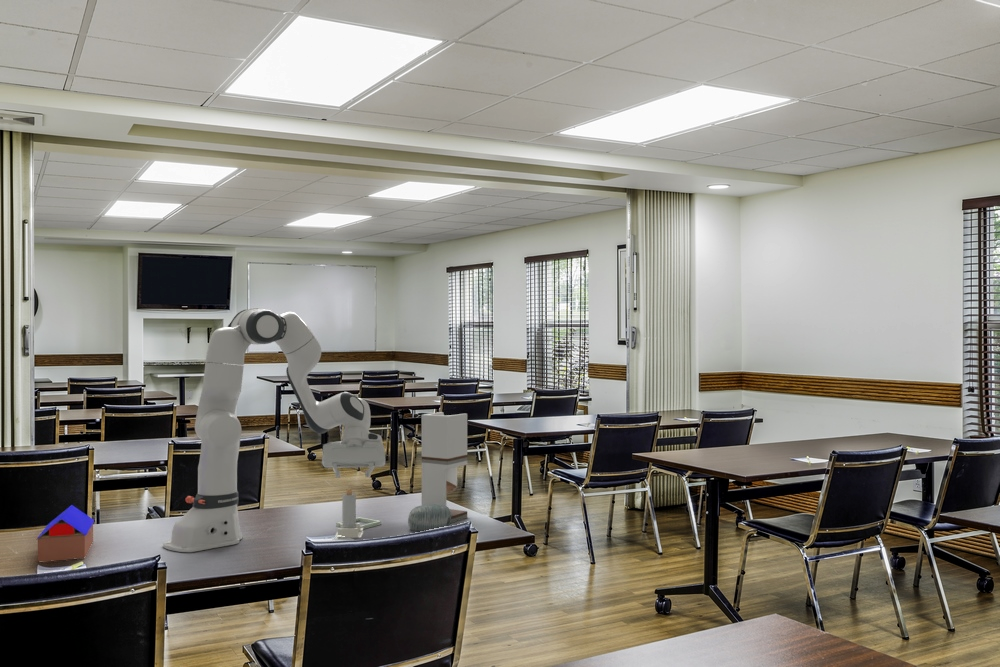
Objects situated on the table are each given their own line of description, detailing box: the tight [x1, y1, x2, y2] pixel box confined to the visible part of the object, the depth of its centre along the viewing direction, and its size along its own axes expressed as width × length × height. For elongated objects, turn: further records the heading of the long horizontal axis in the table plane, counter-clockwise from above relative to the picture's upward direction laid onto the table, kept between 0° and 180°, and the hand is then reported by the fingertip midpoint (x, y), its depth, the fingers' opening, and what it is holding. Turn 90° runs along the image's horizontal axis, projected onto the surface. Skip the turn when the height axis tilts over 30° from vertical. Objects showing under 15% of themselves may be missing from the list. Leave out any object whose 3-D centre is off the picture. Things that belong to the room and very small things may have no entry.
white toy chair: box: [334, 522, 365, 539], centre depth 246 cm, size 8×11×3 cm
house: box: [36, 504, 95, 562], centre depth 227 cm, size 12×20×12 cm, turn 21°
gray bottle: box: [341, 488, 357, 528], centre depth 244 cm, size 4×4×14 cm
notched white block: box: [421, 411, 468, 524], centre depth 269 cm, size 11×11×35 cm
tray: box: [335, 516, 382, 530], centre depth 256 cm, size 10×10×2 cm
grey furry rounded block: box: [407, 504, 451, 532], centre depth 252 cm, size 14×10×10 cm
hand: (352, 476), depth 255 cm, fingers open, 8 cm apart
